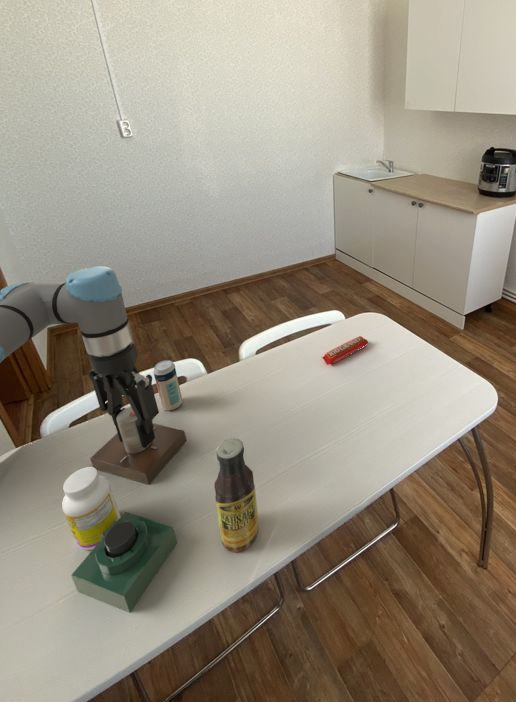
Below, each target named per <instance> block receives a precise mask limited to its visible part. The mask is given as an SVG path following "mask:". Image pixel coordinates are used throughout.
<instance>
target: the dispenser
mask: <svg viewBox="0 0 516 702" xmlns="http://www.w3.org/2000/svg"><path fill="white" fill-rule="evenodd" d="M120 516H121V518H120V519H119V520H118V521H117V522H116V523H115V525H114V526H116V525H117V524H119V523H121V522H126V521H128V522H131V523H132V524H133V525H134V528H135V531H136V534H137V539H136V542H135V544H134V545H133V547H132V548H131V549H130V550H129V551H128V552H126V553H125V554H123V555H121V556H118V557H112V556H110V555H109V554H108V552H107V549H106V546H105V543H104V541H105V537H106V535H107V534H106V535H105V536H104V537H103V538H102V539H101V541H100V542H99V543H98V544H97V546H96V547H95V548H94V549H92V550H90V551H91V552H90V553H89V554H88V555H87V556H85V558H84V560H83V561H82V562H81V563H80V564H79V565H78V567H77V568H76V569H75V570H74V571H73V572H72V573H71V575H70V576H71V579H72V582H73V583H74V586H75V588H76V590H77V592H78V593H80V594H82V595H85V596H86V597H89V598H92V599H94V600H97V601H99V602H102V603H104V604H107V605H109V606H112V607H115V608H117V609H119V610H122V611H125V612H127V613H131V612H132V611H133V609H134V608H135V606H136V605H137V603H138V602H139V601H140V599H141V597H142V596H143V595H144V593H145V592H146V590H147V589H148V588H149V586H150V584H151V583H152V581H153V580H154V579H155V577H156V576H157V574H158V573H159V571H160V570H161V568H162V567H163V565H164V563H165V562H166V561H167V559H168V558H169V557H170V555H171V553H172V552H173V550H174V549H175V547H176V546H177V545H178V540H177V539H178V538H177V536H176V532H175V527H174V526H171V525H168V524H165V523H162V522H159V521H155V520H152V519H149V518H146V517H143V516H140V515H137V514H133V513H131V512H128V511H127V512H126V511H125V512H124V513H122V515H120ZM114 526H113V527H114ZM113 527H112V528H113ZM112 528H111V529H112ZM111 529H110V530H111ZM110 530H109V531H110ZM109 531H108V532H109ZM108 532H107V533H108Z"/></svg>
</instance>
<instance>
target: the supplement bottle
mask: <svg viewBox="0 0 516 702" xmlns="http://www.w3.org/2000/svg"><path fill="white" fill-rule="evenodd" d="M62 488H63V492H64V497H63V498H62V503H61V508H62V512H63V514H64V515H65V518H66V521H67V524H68V526H69V528H70V531H71V533H72V536H73V538H74V540H75V542H76V544H77V546H78V547H79V549H81V550H85V551H92V550H93V549H94V548H95V547H96V546H97V544H98V543H99V542H100V541H101V539H102V538H103V537H104V536H105V535H106V534H107V532H108V531H109V530H110V529H111V528H112V527H113V526H114V525H115V523H116V522H117V521H118V520H119V519H120V518H121V516H122V515H121V513H120V509H119V507H118V504H117V501H116V498H115V495H114V492H113V490H112V487H111V483H110V481H109V480H108V478H107V477H106V476H104V475H100V474H99V472H98V470H96V469H95V468H94V467H93V466H85V467H82V468H80V469H78V470H76V471H74V472H73V473H72V474H70V475H69V476H68V477H67V479H66V480H65V481H64V483H63V486H62Z"/></svg>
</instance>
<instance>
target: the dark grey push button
mask: <svg viewBox="0 0 516 702" xmlns="http://www.w3.org/2000/svg"><path fill="white" fill-rule="evenodd" d="M136 539H137V534H136V531H135V528H134V525H133V524H132V523H131V522H128V521H126V522H121V523H119V524H117V525H116V526H114V527H113V528H112V529H111V530H110V531H109V532H108V533H107V535H106V537H105V541H104V543H105V546H106V549H107V552H108V554H109V555H110V556H112V557H118V556H121V555H123V554H125V553H126V552H128V551H129V550H130V549H131V548H132V547H133V545H134V544H135V542H136Z"/></svg>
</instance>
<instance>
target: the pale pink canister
mask: <svg viewBox="0 0 516 702" xmlns="http://www.w3.org/2000/svg"><path fill="white" fill-rule="evenodd" d="M152 374H153V376H154V380H155V384H156V388H157V393H158V397H159V400H160V405H161V409H162V410H164V411H174V410H175V409H178V408H179V407H180V406H181V405H182V403H183V401H184V400H183V397H182V392H181V387H180V383H179V378H178V374H177V370H176V364H175V363H174V362H173V361H172V360H169V359H166V360H161V361H158V362H157V363H156V364H155V365H154V368H153V370H152Z"/></svg>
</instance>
